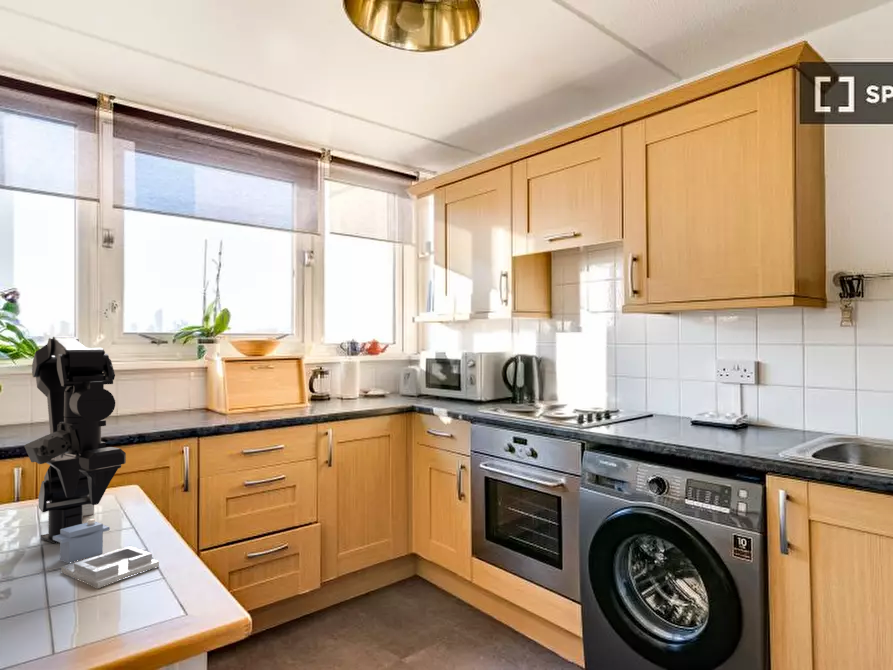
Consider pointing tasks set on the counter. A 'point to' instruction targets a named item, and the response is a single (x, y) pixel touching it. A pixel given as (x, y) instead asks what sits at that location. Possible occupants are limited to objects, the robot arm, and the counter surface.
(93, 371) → the robot arm
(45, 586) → the counter surface
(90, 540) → the block
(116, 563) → the mount plate
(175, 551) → the counter surface
